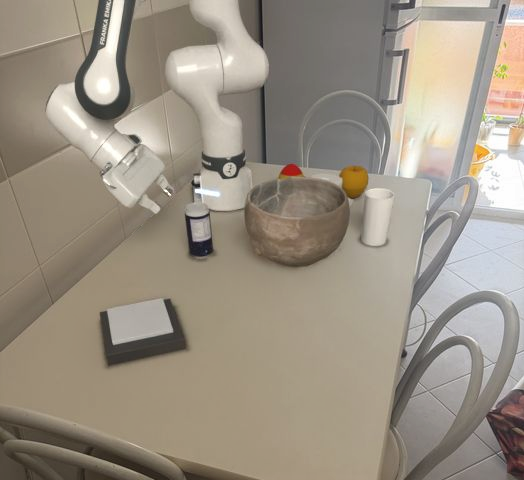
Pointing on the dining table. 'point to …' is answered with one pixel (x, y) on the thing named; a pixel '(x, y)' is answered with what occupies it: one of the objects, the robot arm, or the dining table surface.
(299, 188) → the bowl
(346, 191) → the apple
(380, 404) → the dining table surface
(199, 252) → the beverage can
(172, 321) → the scale
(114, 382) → the dining table surface
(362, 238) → the mug
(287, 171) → the decorative egg
